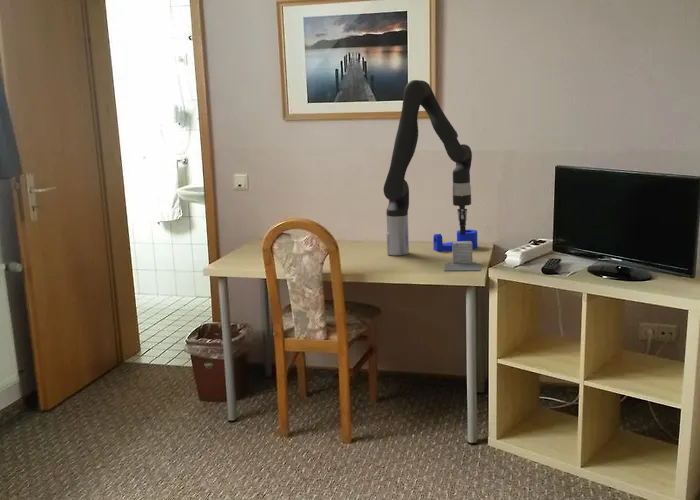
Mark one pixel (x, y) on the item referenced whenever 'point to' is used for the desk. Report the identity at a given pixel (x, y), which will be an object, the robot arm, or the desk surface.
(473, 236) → the bracket
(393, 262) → the desk surface
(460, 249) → the medicine box
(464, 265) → the mat
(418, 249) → the desk surface
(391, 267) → the desk surface
